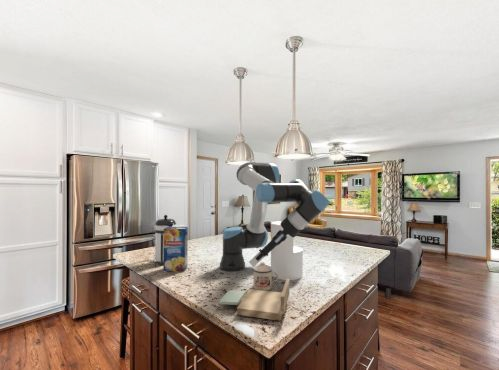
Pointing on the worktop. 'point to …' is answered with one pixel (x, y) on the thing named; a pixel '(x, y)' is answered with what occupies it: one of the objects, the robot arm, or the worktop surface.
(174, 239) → the juice carton
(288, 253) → the cylinder
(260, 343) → the worktop surface
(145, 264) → the worktop surface
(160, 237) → the coffee press
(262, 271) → the teacup with lid
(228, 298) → the panel
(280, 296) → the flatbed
